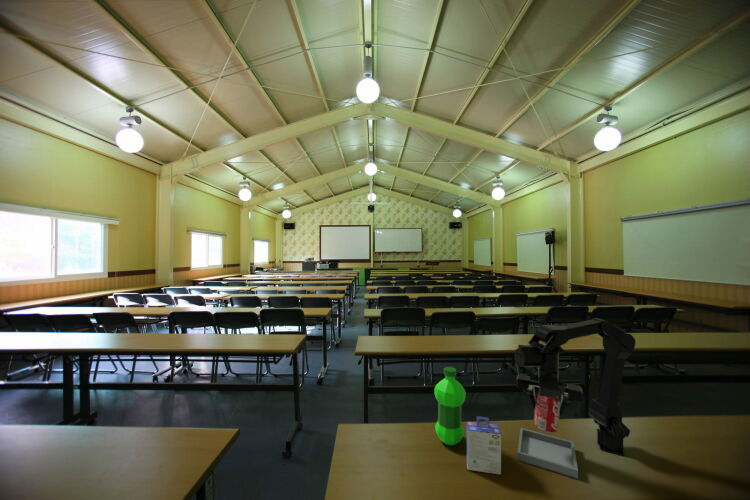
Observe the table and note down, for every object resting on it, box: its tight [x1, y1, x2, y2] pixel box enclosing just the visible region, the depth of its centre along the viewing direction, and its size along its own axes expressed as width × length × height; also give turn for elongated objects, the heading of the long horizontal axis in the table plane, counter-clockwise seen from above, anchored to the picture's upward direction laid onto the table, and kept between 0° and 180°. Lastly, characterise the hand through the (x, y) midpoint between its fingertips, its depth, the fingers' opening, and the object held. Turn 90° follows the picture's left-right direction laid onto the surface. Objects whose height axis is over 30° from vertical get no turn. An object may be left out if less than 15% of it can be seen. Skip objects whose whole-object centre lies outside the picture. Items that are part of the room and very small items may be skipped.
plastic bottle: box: [433, 366, 467, 446], centre depth 105 cm, size 10×10×25 cm
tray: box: [516, 427, 579, 480], centre depth 98 cm, size 16×15×2 cm
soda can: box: [533, 391, 561, 434], centre depth 99 cm, size 7×7×12 cm
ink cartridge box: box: [466, 415, 502, 475], centre depth 93 cm, size 10×6×14 cm, turn 78°
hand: (547, 412), depth 99 cm, fingers closed on soda can, 7 cm apart
